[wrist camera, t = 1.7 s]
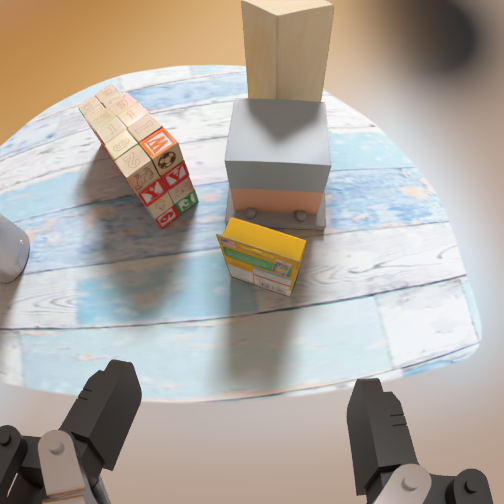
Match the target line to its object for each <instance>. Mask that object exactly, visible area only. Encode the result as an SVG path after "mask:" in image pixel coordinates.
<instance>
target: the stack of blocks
mask: <svg viewBox="0 0 504 504" xmlns="http://www.w3.org/2000/svg"><path fill="white" fill-rule="evenodd" d="M78 108H79V110H80V111H81V113H82V115H83V116H84V118H85V119H86V121H87V122H88V124H89V125H90V127H91V128H92V130H93V131H94V133H95V134H96V136H97V137H98V139H99V140H100V142H101V144H102V145H103V147H104V148H105V150H106V151H107V153H108V154H109V156H110V157H111V159H112V160H113V161H114V163H115V164H116V166H117V167H118V169H119V170H120V172H121V173H122V174H123V175H124V177H125V178H126V180H127V181H128V183H129V184H130V186H131V187H132V189H133V190H134V192H135V193H136V194H137V196H138V197H139V199H140V200H141V202H142V203H143V205H144V206H145V208H146V209H147V211H148V212H149V214H150V215H151V216H152V218H153V219H154V221H155V222H156V223H157V225H158V226H159V228H160V229H163V228H164V227H165V226H167V225H168V224H169V223H171V222H172V221H173V220H175V219H176V218H177V217H179V216H180V215H181V214H182V213H183V212H185V211H186V210H188V209H189V208H190V207H192V206H193V205H195V204H196V203H197V202H199V201H198V198H197V195H196V192H195V189H194V188H193V185H192V182H191V180H190V177H189V172H188V170H187V167H186V164H185V161H184V160H183V156H182V153H181V150H180V147H179V144H178V142H177V141H176V140H175V139H174V138H173V137H172V136H171V135H170V134H169V133H168V132H167V131H166V130H165V129H164V128H163V126H162V125H161V124H160V123H159V122H158V121H157V120H156V119H155V118H154V117H153V116H152V115H151V114H150V113H149V112H148V111H147V110H146V109H145V108H144V107H143V106H142V105H141V104H140V103H138V102H137V101H136V100H135V99H134V98H133V97H132V96H131V95H130V94H129V93H127V94H125V95H123V94H122V93H121V92H118V90H117V89H116V88H115V87H114V86H113V85H110V86H108V87H107V88H105V89H104V90H102V91H101V92H99V93H98V94H96V95H95V96H94V97H92V98H91V99H89V100H88V101H86V102H85V103H84V104H82V105H81V106H79V107H78Z"/></svg>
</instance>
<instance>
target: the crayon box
mask: <svg viewBox="0 0 504 504" xmlns="http://www.w3.org/2000/svg"><path fill="white" fill-rule="evenodd" d="M216 236H217V238H218V241H219V244H220V247H221V249H222V252H223V255H224V258H225V261H226V264H227V267H228V269H229V273H230V275H231V276H232V277H234V278H238V279H240V280H243V281H246V282H249V283H252V284H255V285H258V286H260V287H263V288H266V289H269V290H272V291H275V292H278V293H281V294H284V295H287V296H290V295H291V293H292V290H293V287H294V285H295V282H296V279H297V276H298V272H299V268H300V265H301V261H302V258H303V254H304V251H305V247H306V243H307V241H306V240H303V239H300V238H297V237H294V236H291V235H288V234H285V233H282V232H279V231H275V230H272V229H269V228H266V227H263V226H260V225H256V224H253V223H250V222H246V221H243V220H240V219H236V218H233V217H231V218H230V220H229V222H228V224H227V226H226V229H225V231H224V233H223V235H222V236H221V235H218V234H216Z"/></svg>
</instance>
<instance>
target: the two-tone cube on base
mask: <svg viewBox="0 0 504 504" xmlns="http://www.w3.org/2000/svg"><path fill="white" fill-rule="evenodd" d="M225 165H226V170H227V175H228V180H229V193H228V201H227V209H226V218H225V223H226V226H227V224H228V222H229V220H230V218H231V217H233V218H236V219H240V220H243V221H246V222H250V223H253V224H256V225H260V226H263V227H270V228H291V229H309V230H324V229H325V227H326V219H325V193H324V190H325V186H326V183H327V179H328V176H329V172H330V169H331V155H330V144H329V134H328V124H327V115H326V107H325V102H315V101H302V100H284V99H234V105H233V111H232V117H231V123H230V129H229V135H228V142H227V148H226V155H225Z"/></svg>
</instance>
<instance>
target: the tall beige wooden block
mask: <svg viewBox="0 0 504 504" xmlns="http://www.w3.org/2000/svg"><path fill="white" fill-rule="evenodd" d="M241 5H242V18H243V31H244V44H245V57H246V70H247V84H248V99H284V100H302V101H315V102H321V98H322V91H323V84H324V78H325V71H326V64H327V57H328V51H329V43H330V36H331V30H332V22H333V14H334V5H333V4H331V3H329V2H327V1H325V0H242V1H241Z"/></svg>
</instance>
